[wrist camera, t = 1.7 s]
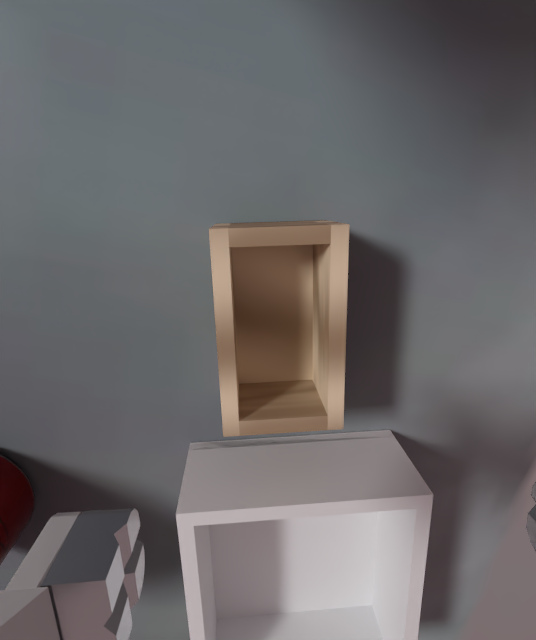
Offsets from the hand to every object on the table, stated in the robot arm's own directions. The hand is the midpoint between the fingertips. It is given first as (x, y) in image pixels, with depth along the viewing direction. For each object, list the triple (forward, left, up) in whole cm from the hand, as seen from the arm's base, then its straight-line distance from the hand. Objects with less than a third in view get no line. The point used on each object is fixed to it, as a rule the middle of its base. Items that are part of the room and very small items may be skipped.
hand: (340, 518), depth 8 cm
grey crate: (+16, +1, -16) cm, 22 cm away
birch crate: (0, 0, -16) cm, 16 cm away
